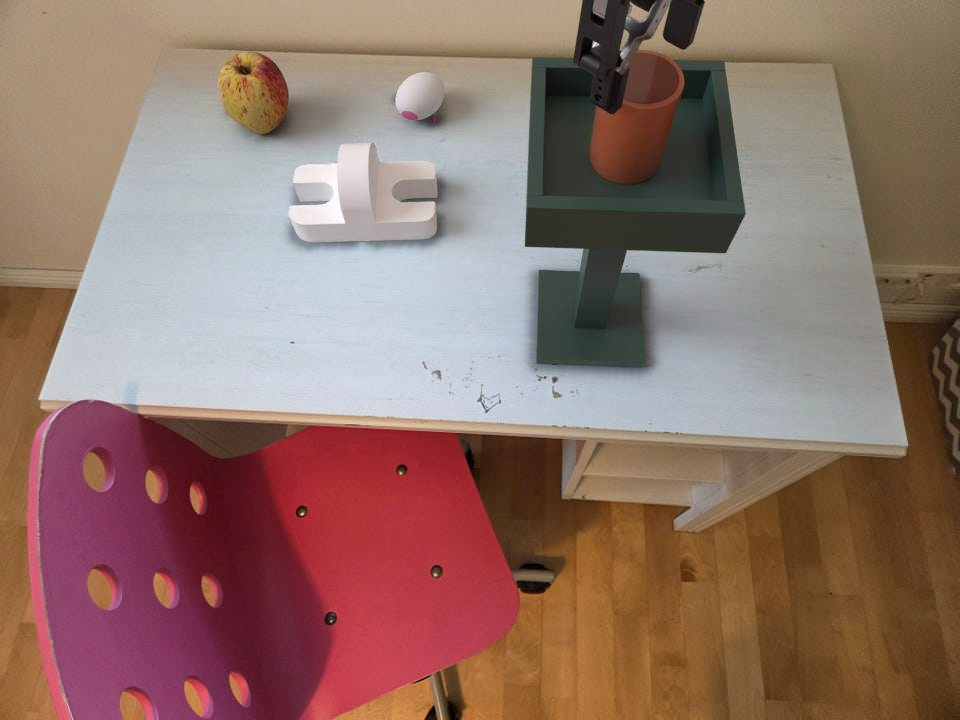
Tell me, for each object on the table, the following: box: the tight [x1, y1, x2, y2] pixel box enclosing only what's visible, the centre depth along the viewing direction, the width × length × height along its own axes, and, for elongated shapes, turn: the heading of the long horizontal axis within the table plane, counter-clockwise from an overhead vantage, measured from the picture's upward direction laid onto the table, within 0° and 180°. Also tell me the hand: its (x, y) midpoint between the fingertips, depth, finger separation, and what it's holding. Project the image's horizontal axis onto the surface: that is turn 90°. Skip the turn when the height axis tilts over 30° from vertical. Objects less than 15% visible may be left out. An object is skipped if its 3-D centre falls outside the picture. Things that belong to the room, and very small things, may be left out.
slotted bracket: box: [287, 142, 439, 243], centre depth 85 cm, size 18×10×10 cm, turn 91°
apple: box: [217, 51, 290, 135], centre depth 92 cm, size 9×9×10 cm
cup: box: [589, 49, 684, 184], centre depth 53 cm, size 6×6×8 cm
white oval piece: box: [394, 71, 446, 124], centre depth 95 cm, size 8×8×7 cm
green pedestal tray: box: [524, 56, 747, 368], centre depth 68 cm, size 16×16×30 cm
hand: (641, 73), depth 50 cm, fingers open, 8 cm apart
